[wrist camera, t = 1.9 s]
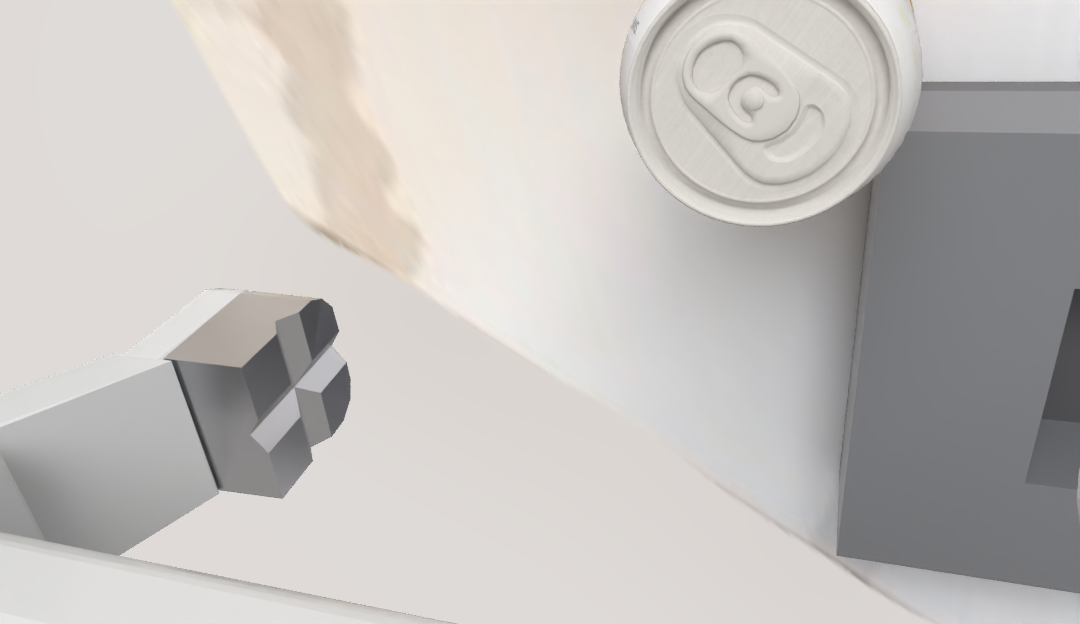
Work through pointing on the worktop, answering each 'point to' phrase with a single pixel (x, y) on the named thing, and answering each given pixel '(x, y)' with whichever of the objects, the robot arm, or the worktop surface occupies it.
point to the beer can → (769, 100)
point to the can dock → (971, 342)
